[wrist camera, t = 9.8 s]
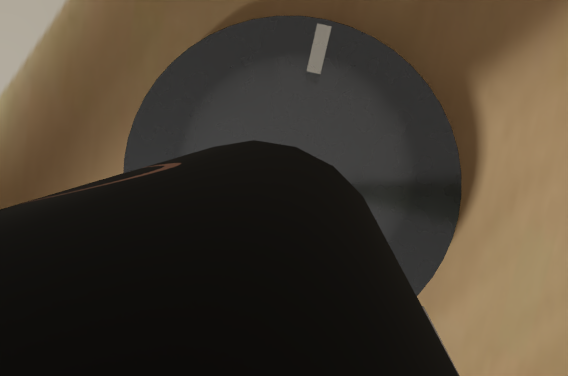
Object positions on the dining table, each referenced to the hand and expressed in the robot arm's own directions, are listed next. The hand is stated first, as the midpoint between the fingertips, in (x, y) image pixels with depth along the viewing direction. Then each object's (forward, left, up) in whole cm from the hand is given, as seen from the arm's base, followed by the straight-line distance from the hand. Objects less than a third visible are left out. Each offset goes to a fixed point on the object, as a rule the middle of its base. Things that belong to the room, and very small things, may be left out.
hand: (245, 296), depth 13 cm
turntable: (0, 0, -18) cm, 18 cm away
